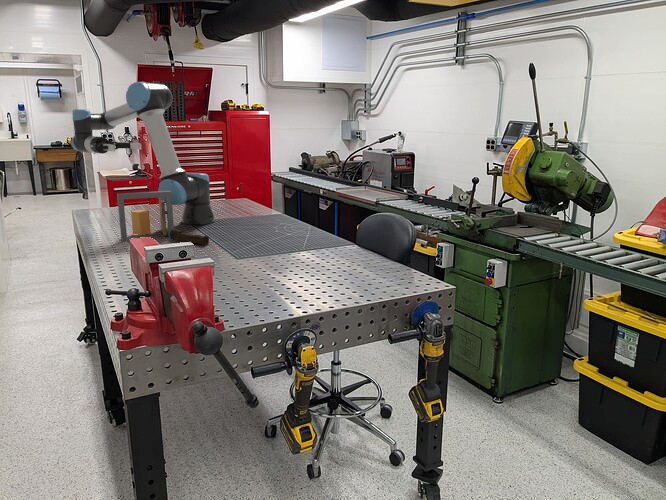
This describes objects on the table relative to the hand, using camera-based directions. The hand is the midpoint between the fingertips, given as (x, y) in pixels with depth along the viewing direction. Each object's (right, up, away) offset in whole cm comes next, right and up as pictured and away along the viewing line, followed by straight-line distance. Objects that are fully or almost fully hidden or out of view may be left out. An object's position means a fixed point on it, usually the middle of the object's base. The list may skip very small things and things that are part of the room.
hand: (127, 147), depth 219 cm
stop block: (+9, -38, -7) cm, 40 cm away
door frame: (+14, -40, -14) cm, 45 cm away
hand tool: (+31, -42, -18) cm, 56 cm away
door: (+18, -37, -4) cm, 41 cm away
